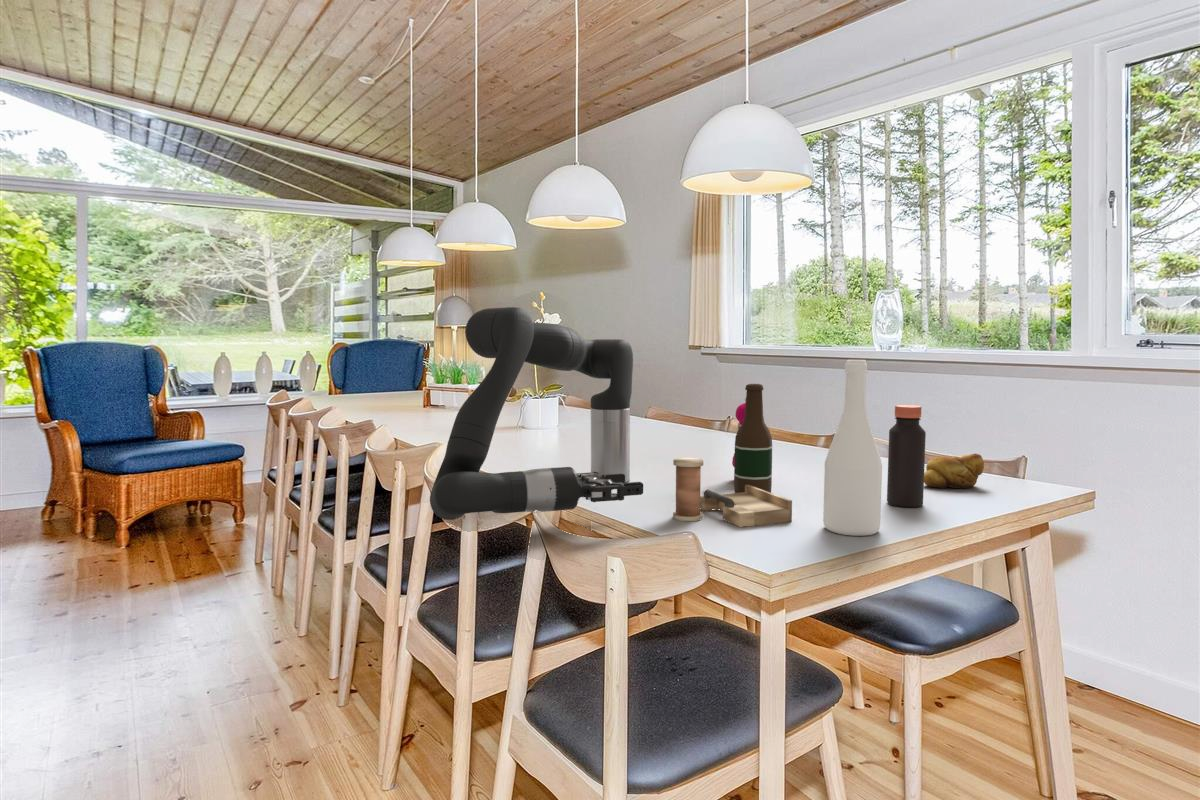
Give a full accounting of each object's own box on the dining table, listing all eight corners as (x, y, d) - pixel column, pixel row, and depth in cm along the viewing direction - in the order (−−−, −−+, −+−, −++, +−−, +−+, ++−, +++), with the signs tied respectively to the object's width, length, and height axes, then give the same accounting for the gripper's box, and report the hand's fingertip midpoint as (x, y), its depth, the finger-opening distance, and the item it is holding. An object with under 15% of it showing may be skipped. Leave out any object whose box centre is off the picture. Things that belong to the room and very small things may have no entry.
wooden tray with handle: (699, 508, 146) (700, 488, 145) (748, 504, 150) (748, 484, 149) (739, 527, 132) (740, 505, 131) (791, 521, 136) (792, 500, 135)
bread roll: (931, 491, 162) (933, 455, 161) (910, 482, 171) (911, 448, 171) (988, 490, 163) (989, 454, 162) (963, 481, 172) (964, 447, 172)
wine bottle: (869, 523, 135) (874, 359, 132) (887, 537, 125) (893, 361, 122) (817, 522, 135) (821, 359, 132) (831, 537, 125) (836, 361, 123)
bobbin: (668, 515, 140) (668, 458, 139) (694, 513, 142) (694, 456, 141) (681, 522, 135) (681, 463, 134) (708, 520, 137) (708, 461, 136)
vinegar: (922, 509, 145) (926, 408, 143) (885, 506, 147) (888, 407, 146) (923, 502, 151) (926, 405, 149) (887, 499, 154) (891, 404, 152)
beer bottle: (754, 502, 151) (755, 386, 149) (726, 495, 157) (727, 384, 155) (779, 497, 156) (781, 384, 153) (751, 491, 162) (753, 382, 160)
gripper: (559, 475, 122) (649, 469, 127) (536, 462, 135) (618, 457, 140) (559, 520, 122) (649, 512, 128) (536, 502, 135) (618, 496, 141)
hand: (633, 483), depth 134 cm, fingers open, 8 cm apart
